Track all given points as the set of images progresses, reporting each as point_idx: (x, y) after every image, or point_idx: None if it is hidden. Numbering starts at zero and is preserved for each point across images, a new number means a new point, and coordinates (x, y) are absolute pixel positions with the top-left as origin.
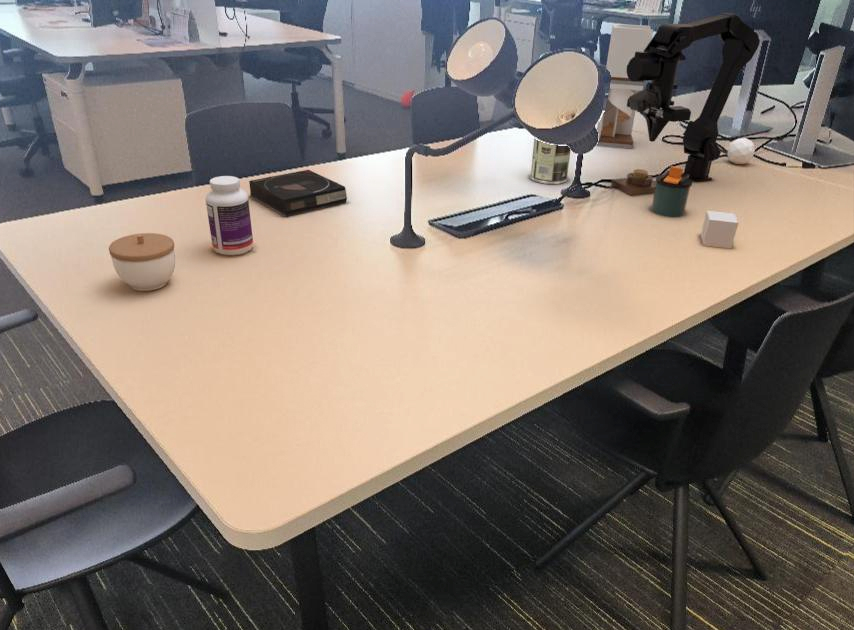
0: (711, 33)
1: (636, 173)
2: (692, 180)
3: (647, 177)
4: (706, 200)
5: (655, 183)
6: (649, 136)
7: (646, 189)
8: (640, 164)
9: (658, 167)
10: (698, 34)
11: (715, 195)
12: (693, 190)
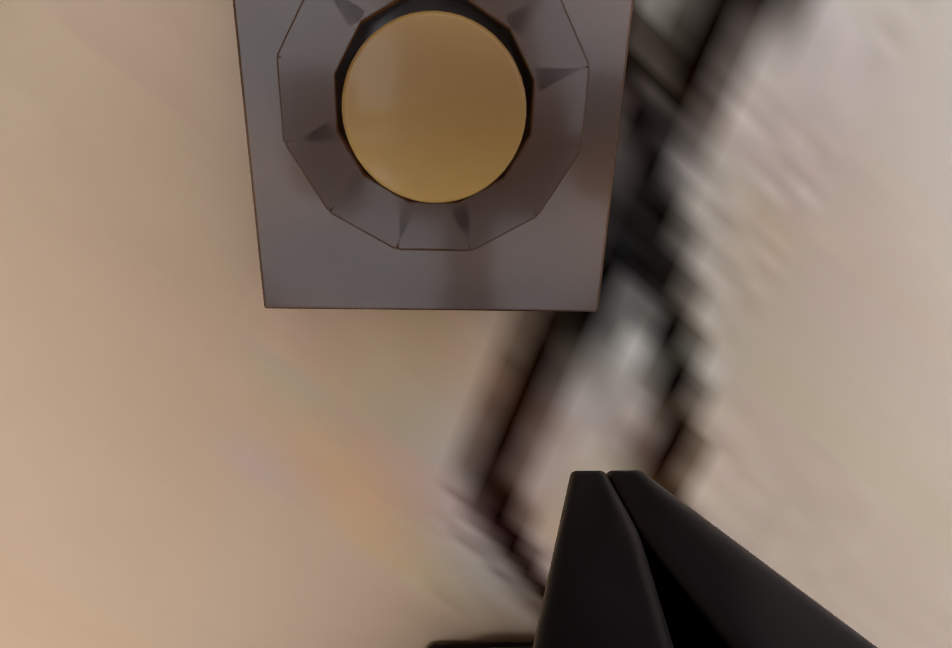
0: None
1: (411, 13)
2: (449, 645)
3: None
4: (8, 469)
5: (355, 257)
6: (672, 514)
7: (239, 47)
8: (941, 555)
9: None
10: None
11: (119, 595)
12: (261, 528)
